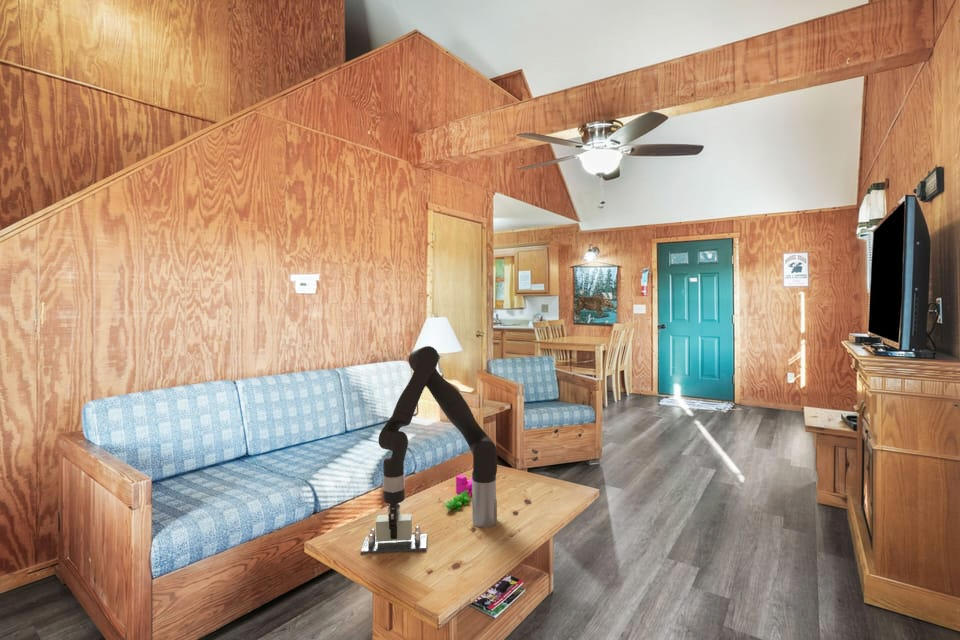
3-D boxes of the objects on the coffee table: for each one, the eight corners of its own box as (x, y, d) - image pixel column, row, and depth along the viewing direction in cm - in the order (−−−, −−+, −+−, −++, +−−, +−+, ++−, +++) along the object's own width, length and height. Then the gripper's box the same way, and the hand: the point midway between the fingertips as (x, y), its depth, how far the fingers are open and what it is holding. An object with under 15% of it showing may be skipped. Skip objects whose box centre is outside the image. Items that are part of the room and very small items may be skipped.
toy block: (466, 496, 211) (466, 479, 210) (456, 493, 214) (456, 476, 214) (487, 486, 222) (487, 470, 222) (477, 483, 226) (477, 467, 226)
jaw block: (377, 534, 170) (377, 515, 170) (412, 533, 171) (411, 513, 171) (376, 541, 165) (375, 521, 165) (411, 539, 166) (411, 520, 166)
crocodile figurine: (439, 512, 195) (439, 501, 195) (462, 496, 211) (462, 486, 211) (453, 515, 192) (453, 504, 192) (475, 499, 208) (475, 489, 208)
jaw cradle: (426, 537, 174) (426, 522, 174) (426, 551, 164) (425, 536, 164) (365, 540, 172) (364, 526, 172) (360, 554, 162) (360, 539, 162)
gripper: (385, 479, 174) (385, 525, 175) (380, 495, 160) (381, 545, 161) (406, 478, 175) (406, 524, 176) (403, 494, 161) (403, 544, 161)
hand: (394, 534), depth 168 cm, fingers closed on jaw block, 5 cm apart
